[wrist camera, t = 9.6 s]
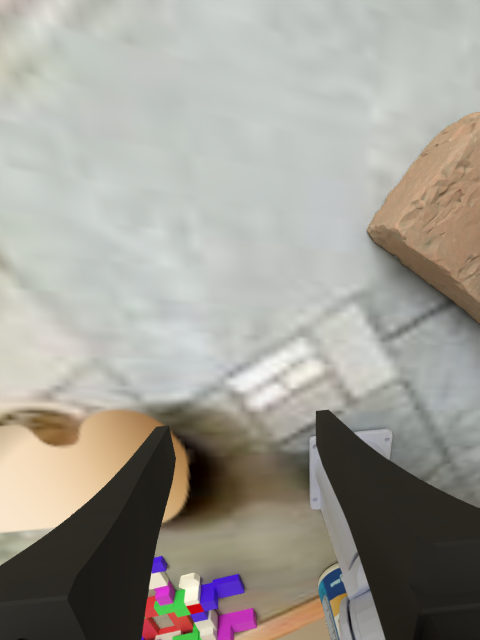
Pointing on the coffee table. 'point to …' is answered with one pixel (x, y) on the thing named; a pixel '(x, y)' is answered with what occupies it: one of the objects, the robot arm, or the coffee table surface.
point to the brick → (439, 215)
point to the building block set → (193, 607)
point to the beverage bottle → (332, 597)
